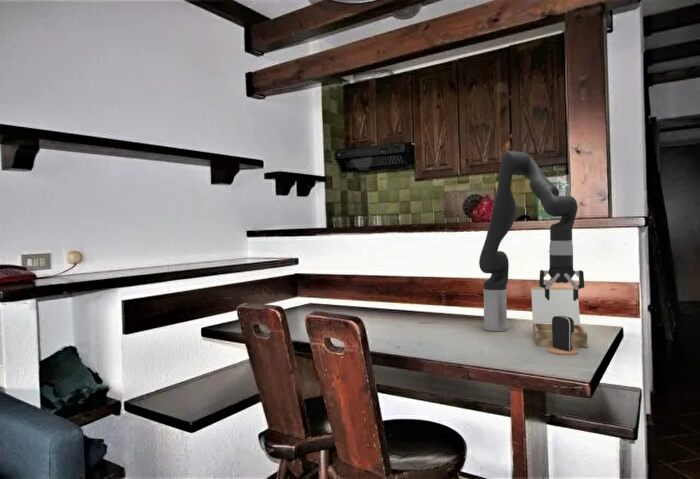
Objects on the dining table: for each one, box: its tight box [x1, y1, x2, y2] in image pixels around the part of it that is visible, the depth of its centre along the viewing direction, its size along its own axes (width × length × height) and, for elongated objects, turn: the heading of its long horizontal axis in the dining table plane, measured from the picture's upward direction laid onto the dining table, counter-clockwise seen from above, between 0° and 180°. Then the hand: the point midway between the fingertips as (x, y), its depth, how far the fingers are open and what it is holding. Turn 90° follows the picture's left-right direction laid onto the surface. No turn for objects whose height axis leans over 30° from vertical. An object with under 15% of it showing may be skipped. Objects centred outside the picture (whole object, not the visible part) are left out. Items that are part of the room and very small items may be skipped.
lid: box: [530, 286, 581, 325], centre depth 189 cm, size 17×14×1 cm
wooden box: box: [532, 322, 588, 349], centre depth 180 cm, size 17×14×6 cm
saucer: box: [546, 346, 579, 356], centre depth 168 cm, size 10×10×1 cm
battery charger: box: [551, 316, 575, 351], centre depth 167 cm, size 7×4×11 cm, turn 27°
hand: (561, 300), depth 167 cm, fingers open, 8 cm apart
